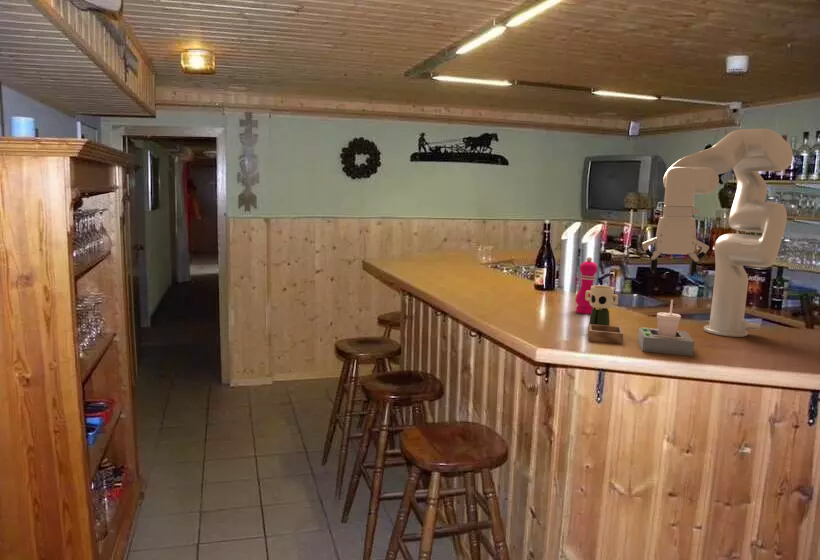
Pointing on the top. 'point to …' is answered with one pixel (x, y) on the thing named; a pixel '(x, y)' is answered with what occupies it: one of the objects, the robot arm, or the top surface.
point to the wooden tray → (605, 333)
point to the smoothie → (668, 322)
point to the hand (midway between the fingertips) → (672, 274)
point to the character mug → (601, 304)
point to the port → (665, 342)
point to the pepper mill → (586, 286)
